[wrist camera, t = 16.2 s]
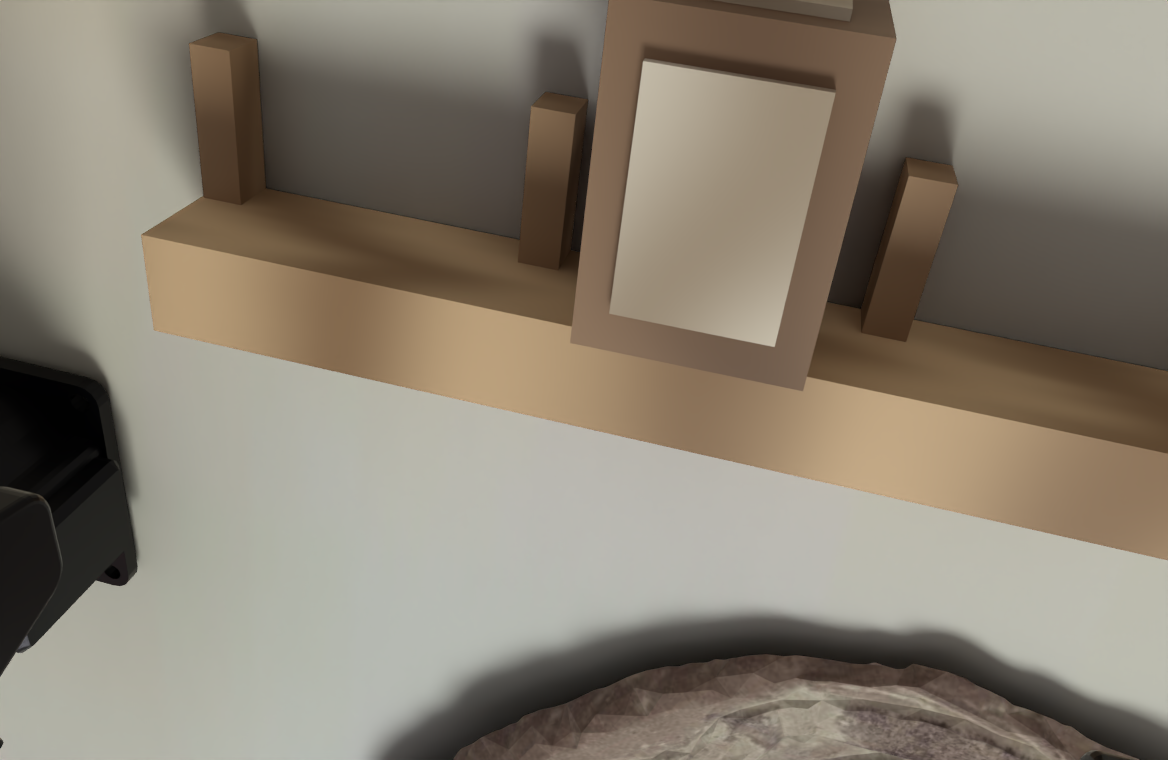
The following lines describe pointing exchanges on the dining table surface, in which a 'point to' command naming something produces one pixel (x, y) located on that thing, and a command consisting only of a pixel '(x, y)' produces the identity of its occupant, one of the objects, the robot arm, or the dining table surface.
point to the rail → (642, 386)
